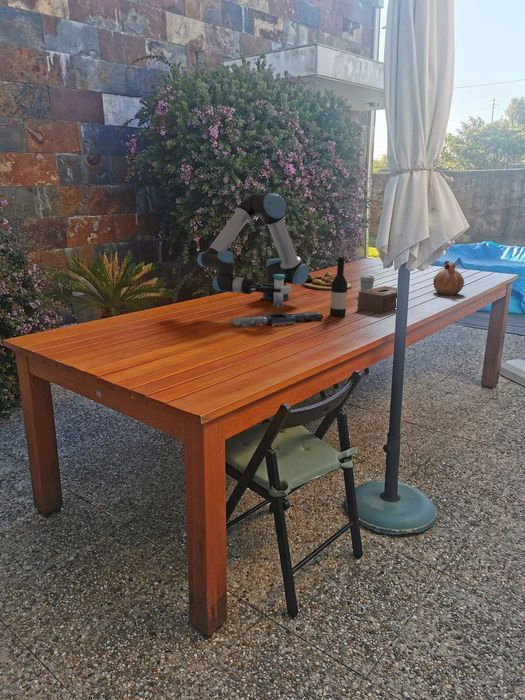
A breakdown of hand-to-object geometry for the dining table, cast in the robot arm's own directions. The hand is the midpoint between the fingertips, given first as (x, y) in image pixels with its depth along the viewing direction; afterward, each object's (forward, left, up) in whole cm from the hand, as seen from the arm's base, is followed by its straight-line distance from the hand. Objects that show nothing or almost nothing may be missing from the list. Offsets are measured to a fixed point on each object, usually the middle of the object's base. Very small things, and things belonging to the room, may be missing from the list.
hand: (289, 290), depth 264 cm
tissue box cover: (-14, +64, -17) cm, 67 cm away
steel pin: (-4, -4, -8) cm, 10 cm away
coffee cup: (-44, +74, -16) cm, 87 cm away
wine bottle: (-7, +32, -16) cm, 36 cm away
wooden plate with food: (-80, +68, -17) cm, 106 cm away
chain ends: (-4, -3, -16) cm, 17 cm away
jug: (-35, +128, -16) cm, 133 cm away
